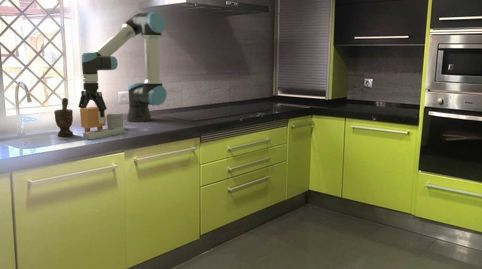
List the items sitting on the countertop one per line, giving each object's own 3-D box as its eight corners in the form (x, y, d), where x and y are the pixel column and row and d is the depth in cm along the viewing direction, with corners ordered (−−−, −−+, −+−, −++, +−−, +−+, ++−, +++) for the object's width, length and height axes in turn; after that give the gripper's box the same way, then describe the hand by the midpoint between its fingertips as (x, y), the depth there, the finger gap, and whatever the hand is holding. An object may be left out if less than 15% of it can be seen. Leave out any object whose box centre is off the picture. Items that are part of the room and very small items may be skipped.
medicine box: (123, 128, 248) (122, 112, 247) (121, 129, 244) (120, 113, 242) (109, 128, 248) (108, 112, 246) (107, 129, 244) (106, 114, 242)
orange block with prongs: (98, 129, 243) (97, 106, 240) (105, 130, 239) (104, 107, 237) (81, 132, 234) (79, 108, 231) (88, 134, 230) (87, 109, 228)
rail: (118, 132, 236) (118, 126, 235) (125, 133, 233) (124, 127, 232) (83, 138, 218) (83, 132, 217) (90, 139, 215) (89, 133, 215)
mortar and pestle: (81, 135, 225) (78, 97, 222) (65, 138, 219) (62, 98, 215) (68, 133, 232) (65, 95, 229) (53, 135, 226) (49, 97, 222)
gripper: (69, 81, 235) (72, 120, 239) (100, 83, 222) (102, 125, 226) (81, 80, 241) (84, 119, 245) (112, 82, 228) (114, 123, 232)
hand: (93, 122), depth 236 cm, fingers open, 13 cm apart
